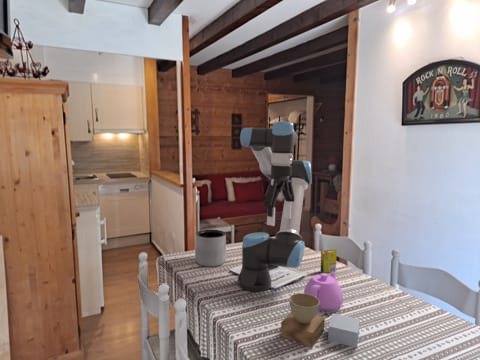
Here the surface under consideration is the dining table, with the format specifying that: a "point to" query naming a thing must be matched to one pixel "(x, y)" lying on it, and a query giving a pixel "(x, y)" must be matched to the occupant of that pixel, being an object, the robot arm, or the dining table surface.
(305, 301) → the tan cup
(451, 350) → the dining table surface
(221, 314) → the dining table surface
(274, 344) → the dining table surface
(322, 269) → the crayon box
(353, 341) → the slate block
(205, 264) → the planter
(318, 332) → the walnut block
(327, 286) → the teapot
